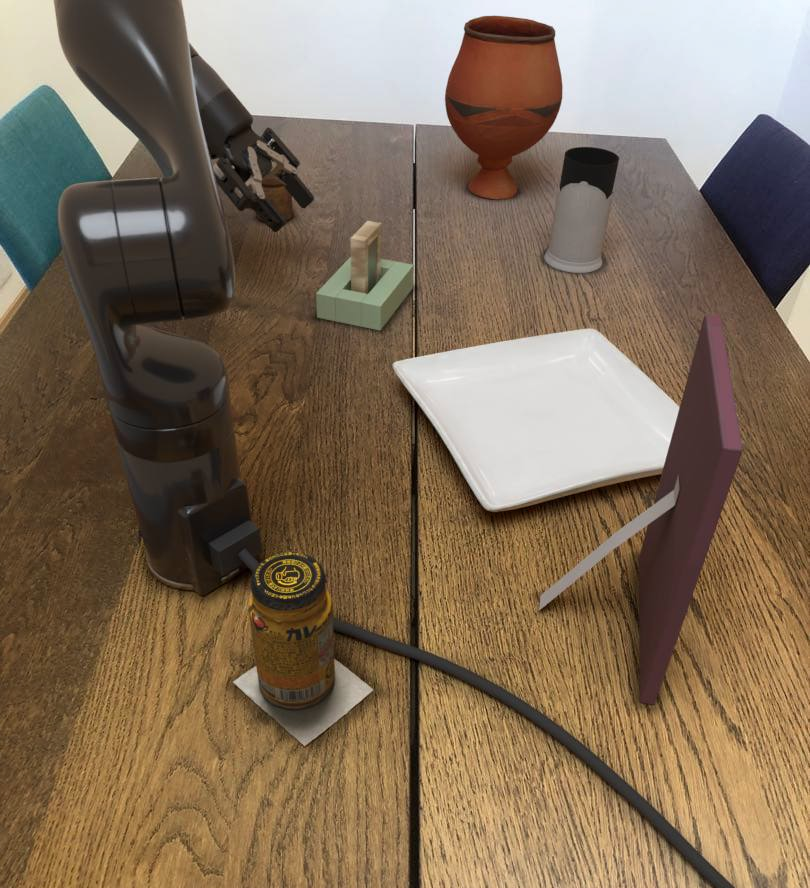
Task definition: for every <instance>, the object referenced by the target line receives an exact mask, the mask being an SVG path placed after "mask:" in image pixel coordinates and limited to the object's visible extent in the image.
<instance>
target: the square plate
mask: <svg viewBox="0 0 810 888" xmlns="http://www.w3.org/2000/svg"><path fill="white" fill-rule="evenodd" d="M391 367H392V369H393V371H394V373H395V375H396V376H397V378H398V379H399V380H400V382H401V384H402V385H403V386H404V388H405V389H406V390H407V391H408V393H409V394H410V396H411V397H412V398H413V399H414V401H415V402H416V403H417V405H418V406H419V408H420V409H421V410H422V412H423V413H424V415H425V416H426V417H427V418H428V420H429V421H430V423H431V425H432V426H433V428H434V429H435V430H436V433H437V434H438V435H439V437H440V438H441V440H442V442H443V443H444V445H445V447H446V448H447V449H448V451H449V453H450V455H451V457H452V458H453V460H454V462H455V463H456V465H457V467H458V469H459V471H460V472H461V475H462V476H463V478H464V479H465V481H466V483H467V484H468V486H469V488H470V490H472V493H473V494H474V496H475V497H476V499H477V500H478V502H479V503H480V506H482V508H484V509H485V510H486V511H487V512H492V513H499V512H505V511H511V510H517V509H521V508H525V507H530V506H534V505H538V504H541V503H544V502H548V501H549V502H550V501H552V500H556V499H559V498H563V497H566V496H567V497H568V496H570V495H574V494H579V493H583V492H586V491H590V490H594V489H598V488H601V487H606V486H610V485H614V484H619V483H623V482H629V481H632V480H638V479H641V478H647V477H653V476H657V475H662V471H663V467H664V464H665V460H666V456H667V452H668V449H669V445H670V441H671V438H672V434H673V430H674V426H675V423H676V419H677V415H678V412H679V408H680V405H679V404H677V403H676V402H675V401H674V400H673V399H672V398H671V397H670V396H669V395H668V394H667V393H666V392H664V391H663V389H661V387H659V386H658V384H656V383H655V382H654V381H653V380H652V379H651V378H650V377H649V376H647V374H645V372H644V371H642V369H640V368H639V366H637V365H636V364H635V363H634V362H633V361H632V360H631V359H630V358H628V357H627V356H626V355H625V354H624V353H623V352H622V351H621V350H619V348H618V347H616V346H615V345H614V344H613V343H612V342H611V341H610V340H609V339H608V338H606V337H605V336H604V335H603V334H602V333H601V332H600V331H599V330H597V329H595V328H590V327H589V328H581V329H575V330H568V331H566V330H565V331H561V332H559V331H558V332H553V333H547V334H540V335H533V336H526V337H521V338H516V339H515V338H514V339H508V340H503V341H502V340H501V341H497V342H491V343H485V344H480V345H475V346H469V347H462V348H458V349H451V350H447V351H442V352H436V353H431V354H425V355H422V356H421V355H420V356H416V357H410V358H406V359H401V360H397V361H394V362H393V363H392V365H391Z"/></svg>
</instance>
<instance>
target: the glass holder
mask: <svg viewBox="0 0 810 888" xmlns="http://www.w3.org/2000/svg"><path fill="white" fill-rule="evenodd" d="M619 162H620V157H619V155H617V153H615V152H613V151H610V150H608V149H604V148H601V147H593V146H578V147H577V146H576V147H571V148H569V149H567V150H565V152H564V156H563V161H562V169H561V176H560V182H559V184H558V188H557V193H556V199H555V206H554V212H553V218H552V224H551V231H550V236H549V242H548V243H549V244H548V248H547V251H545V254H544V255H543V259H544V262H545V263H546V264H547V265H548V266H550V267H552V268H553V269H556V270H559V271H561V272H562V271H563V272H566V273H573V274H574V273H575V274H585V273H592V272H595V271H597V270H599V269H600V268H602V266H603V258H602V252H603V247H604V243H605V237H606V231H607V227H608V222H609V217H610V212H611V208H612V204H613V203H612V202H613V198H614V187H615V181H616V176H617V171H618V167H619Z"/></svg>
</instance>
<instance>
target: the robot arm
mask: <svg viewBox="0 0 810 888" xmlns="http://www.w3.org/2000/svg"><path fill="white" fill-rule="evenodd" d="M53 6H54V13H55V14H54V15H55V20H56V21H55V22H56V27H57V34H58V35H57V36H58V40H59V44H60V48H61V50H62V52H63V55H64V57H65V60H66V61H67V63H68V64H69V66H70V68H71V69H72V71H73V72H74V74H75V76H76V77H77V78H78V79H79V81H80V82H81V83H82V84H83V86H84V87H85V88H86V89H87V90H88V91H89V92H90V93H91V95H93V97H95V98H96V100H97V101H98V102H99V103H100V104H101V105H102V106H103V107H104V108H105V109H106V110H107V111H109V113H110V114H112V115H113V117H115V118H116V119H117V120H118V121H119V122H121V124H122V125H123V126H124V127H126V128H127V129H128V130H129V131H131V133H132V134H133V135H134V136H135V137H136V138H137V139H138V140H139V141H140V143H142V145H143V146H144V147H145V149H147V151H148V152H149V153H150V155H151V156H152V159H154V161H155V163H156V164H157V166H158V167H159V169H160V170H161V172H162V174H163V176H162V177H145V178H144V177H143V178H129V179H113V180H99V181H97V180H96V181H87V182H78V183H74V184H71V185H68V186H67V187H66V188H65V189H64V190H63V192H62V194H61V196H60V198H59V201H58V206H57V207H58V208H57V226H58V234H59V240H60V244H61V250H62V254H63V258H64V261H65V265H66V268H67V272H68V275H69V279H70V282H71V285H72V288H73V290H74V294H75V297H76V300H77V303H78V306H79V309H80V312H81V315H82V317H83V321H84V324H85V327H86V330H87V334H88V336H89V340H90V342H91V347H92V349H93V354H94V357H95V362H96V364H97V365H96V366H97V368H98V373H99V376H100V379H101V383H102V388H103V393H104V397H105V401H106V404H107V408H108V412H109V416H110V420H111V423H112V427H113V431H114V435H115V439H116V444H117V448H118V451H119V455H120V459H121V463H122V468H123V470H124V474H125V478H126V482H127V486H128V490H129V494H130V497H131V498H130V499H131V500H132V505H133V510H134V513H135V517H136V520H137V521H136V522H137V524H138V537H137V542H138V546H139V549H140V550H141V548H142V543H143V547H144V550H145V558H146V563H147V567H148V569H149V572H150V573H151V574H152V576H153V577H154V578H155V579H156V580H158V581H159V582H160V583H161V584H164V585H165V586H168V587H171V588H174V589H177V590H183V591H193V592H196V594H198V595H199V596H201V597H203V596H206V595H207V594H209V593H211V592H212V591H214V590H215V589H217V588H219V587H220V586H222V585H224V584H226V583H227V582H229V581H231V580H233V579H234V578H235V577H237V576H238V575H241V573H243V572H245V571H246V570H248V569H249V570H250V572H252V573H253V572H254V570H255V568H256V567H257V566H258V564H259V563H260V562H259V561H258V559H257V556H258V555H259V554H261V553H262V552H263V547H262V540H261V532H260V531H261V530H260V528H259V526H257V525H256V524H254V522H253V520H252V512H251V505H250V498H249V497H250V496H249V489H248V485H247V483H246V482H245V481H244V480H243V479H242V475H241V473H242V472H241V468H240V459H239V453H238V452H239V451H238V446H237V436H236V429H235V424H234V423H235V422H234V421H235V420H234V415H233V414H234V413H233V406H232V400H231V399H232V398H231V392H230V384H229V377H228V371H227V366H226V363H225V361H224V359H223V357H222V355H221V353H219V351H218V350H217V349H216V348H214V347H213V346H211V345H210V344H209V343H208V342H207V343H206V342H205V341H203V340H200V339H198V338H195V337H193V336H189V335H185V334H180V333H177V332H173V331H168V330H166V329H163V328H159V327H156V326H155V325H152V324H157V323H166V322H167V323H168V322H177V321H183V320H185V321H186V320H196V319H202V318H208V317H213V316H217V315H220V314H222V313H224V312H225V311H227V310H228V309H229V308H230V306H231V305H232V303H233V299H234V296H235V290H236V266H235V265H236V264H235V257H234V249H233V244H232V239H231V234H230V231H229V226H228V223H227V222H228V220H227V217H226V213H225V208H224V205H223V200H222V197H221V193H220V189H221V190H222V191H223V193H224V194H225V195H226V196H227V198H228V199H229V200H230V201H231V203H232V204H233V205H234V207H235V208H236V209H237V210H238V211H240V212H244V211H245V210H247V209H249V211H253V212H255V214H256V213H257V214H258V215H259V216H260V218H261V219H262V220H263V221H264V222H263V221H262V222H263V223H265V225H266V226H267V228H269V229H271V231H272V232H273V233H278V232H279V231H280V230H281V229H282V228H283V227H284V226H285V225H286V224H287V221H286V219H285V218H284V217H283V215H282V214H281V213H280V212H279V211H278V209H277V208H276V207H275V206H274V205H273V204H272V202H271V201H270V200H269V199H268V198H266V199H265V194H264V191H263V188H262V185H261V183H262V179H263V178H264V177H265V178H266V179H269V180H270V179H275V180H276V181H278V182H280V183H282V184H283V185H286V184H287V185H286V186H285V188H286V190H287V191H288V192H289V193H290V194H291V196H292V199H294V200H295V202H296V203H297V204H298V206H299V207H300V208H301V209H307V207H308V206H309V205H310V204H312V203H313V202H314V200H315V196H314V194H313V193H312V192H311V190H310V189H309V188H308V187H307V186H306V184H305V183H304V182H303V181H302V179H301V178H300V177H299V175H298V170H297V169H298V167H299V166H300V165H301V162H300V160H299V159H298V158H297V156H295V154H294V153H293V152H292V151H291V150H290V149H289V147H288V146H287V145H286V144H285V143H284V142H283V140H282V139H280V137H279V136H278V135H277V134H276V132H274V130H273V129H272V128H271V127H266V128H265V129H264V130H263V131H262V133H261V134H260V135H258V134H257V133H256V132H255V131H254V130H253V129H252V125H253V123H254V118H253V117H254V116H253V115H252V114H251V113H250V112H249V110H248V109H247V108H246V106H245V105H244V104H243V103H242V101H240V99H239V98H238V97H237V95H236V94H235V92H233V91H232V90H231V87H229V85H227V83H226V82H225V80H224V79H223V78H222V77H221V76H220V75H219V74H218V72H217V71H216V70H215V68H213V66H211V65H210V64H209V63H208V62H206V60H205V59H204V58H203V57H202V56H201V55H200V54H199V52H198V51H197V50H196V49H195V48H194V46H193V44H191V43H190V41H189V36H188V30H187V29H188V28H187V22H186V21H187V20H186V16H185V11H184V6H183V0H53ZM217 159H218V160H217ZM285 159H286V160H285ZM214 160H217V161H216V162H215V163H214V164H213V161H214ZM279 170H280V171H281V172H282V174H281V173H280V172H278V171H279ZM219 188H220V189H219ZM236 189H237V190H238V193H239V194H240V195H242V196H241V197H240V196H239V194H237V192H236ZM333 632H336V633H340V634H342V635H343V634H344V635H346V636H349V637H352V638H355V639H358V640H360V641H362V642H364V643H367V644H370V645H372V646H376V647H378V648H381V649H384V650H386V651H390V652H393V653H396V654H398V655H402V656H404V657H407V658H409V659H413V660H414V661H417V662H421V663H424V664H426V665H428V666H431V667H433V668H436V669H438V670H440V671H441V672H444V673H446V674H448V675H451V676H453V677H455V678H457V679H459V680H461V681H463V682H465V683H467V684H469V685H471V686H473V687H475V688H477V689H478V690H481V691H482V692H484V693H486V694H488V695H489V696H491V697H493V698H495V699H497V700H498V701H500V702H502V703H503V704H504V705H507V707H510V708H511V709H512V710H514V711H516V712H517V713H518V714H521V715H522V716H523V717H524V718H526V719H528V720H529V721H530V722H532V723H534V724H535V725H537V726H538V727H539V728H541V729H542V730H543V731H545V732H546V733H548V734H549V735H550V736H552V737H553V738H554V739H555V740H557V741H558V742H559V743H561V744H562V745H563V746H565V748H567V749H568V750H569V751H570V752H572V753H573V754H574V755H575V756H577V757H578V758H579V759H580V760H581V761H582V762H584V763H585V764H586V765H587V766H588V767H590V769H592V770H593V771H594V772H595V773H596V774H597V775H598V776H599V777H600V778H602V779H603V780H604V781H605V782H606V783H607V784H608V785H609V786H610V787H612V788H613V789H614V790H615V791H616V792H617V793H618V794H619V795H620V796H621V797H623V799H625V800H626V801H627V802H628V803H629V804H630V805H631V806H632V807H633V808H635V810H637V812H639V814H640V815H642V816H643V817H644V818H645V819H646V821H648V822H649V823H650V824H651V825H652V826H653V827H654V828H655V829H656V830H657V831H658V833H660V834H661V836H663V838H664V839H666V840H667V842H669V844H671V845H672V846H673V848H674V849H675V850H676V851H677V852H678V853H679V854H680V855H682V857H683V858H684V859H685V860H686V862H688V863H689V864H690V865H691V866H692V868H694V869H695V871H697V872H698V873H699V874H700V875H701V876H702V877H703V878H704V879H705V880H706V881H707V882H708V883H709V884H710V885H711V886H712V887H713V888H736V887H735V886H734V885H733V884H732V883H730V881H729V880H728V879H726V878H725V876H724V875H722V873H720V872H719V871H718V870H717V869H716V868H715V867H714V866H713V865H712V864H711V863H710V862H709V861H708V859H706V858H705V857H704V856H703V855H702V854H701V853H700V852H699V851H698V850H697V849H696V848H695V847H694V846H693V845H692V844H691V842H689V841H688V840H687V839H686V838H685V837H684V836H683V835H682V834H681V833H680V832H679V830H677V829H676V828H675V827H674V826H673V825H672V824H671V823H670V822H669V821H668V820H667V819H666V818H665V817H664V816H663V815H662V813H660V812H659V810H657V809H656V808H655V807H654V806H653V805H652V804H651V803H650V802H649V801H648V800H647V799H646V798H645V797H644V796H642V795H641V794H640V792H638V791H637V790H636V789H635V788H634V787H633V786H632V785H630V783H628V782H627V781H626V780H625V779H624V778H622V776H620V775H619V774H618V773H617V772H616V771H615V770H614V769H613V768H611V767H610V766H609V765H608V764H607V763H606V762H604V761H603V759H601V758H600V757H599V756H597V755H596V754H595V753H594V752H593V751H592V750H590V748H589V747H587V746H586V745H585V744H584V743H582V742H581V741H580V740H578V739H577V738H576V737H575V736H574V735H572V734H571V733H570V732H568V731H567V730H566V729H564V727H562V726H561V725H559V724H558V723H557V722H555V721H554V720H552V719H551V718H549V717H548V716H546V715H545V714H544V713H542V712H541V711H540V710H538V709H536V708H535V707H534V706H532V705H531V704H529V703H527V702H525V701H524V700H523V699H522V698H519V696H516V695H515V694H514V693H512V692H510V691H508V690H507V689H506V688H503V687H502V686H500V685H499V684H497V683H495V682H493V681H491V680H489V679H487V678H485V677H484V676H482V675H479V674H478V673H476V672H473V671H472V670H470V669H467V668H465V667H463V666H462V665H459V664H457V663H455V662H453V661H451V660H449V659H447V658H444V657H441V656H439V655H437V654H435V653H432V652H430V651H427V650H424V649H422V648H419V647H416V646H413V645H410V644H407V643H404V642H403V641H399V640H396V639H393V638H390V637H387V636H385V635H382V634H378V633H376V632H373V631H370V630H369V629H365V628H363V627H360V626H357V625H355V624H352V623H349V622H345V621H343V620H339V619H336V618H333Z"/></svg>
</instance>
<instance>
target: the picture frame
mask: <svg viewBox="0 0 810 888" xmlns="http://www.w3.org/2000/svg"><path fill="white" fill-rule="evenodd" d="M724 333H725V332H724V328H723V322H722V316H721V315H717V314H716V315H715V314H704V316H703V319H702V324H701V327H700V331H699V334H698V338H697V341H696V345H695V348H694V353H693V355H692V360H691V364H690V367H689V371H688V375H687V377H686V378H687V379H686V383H685V386H684V390H683V393H682V398H681V401H680V405H679V407H680V408H679V412H678V415H677V419H676V423H675V426H674V430H673V434H672V438H671V441H670V445H669V449H668V452H667V456H666V460H665V464H664V467H663V471H662V474H660V478H659V483H658V485H657V489H656V494H655V497H654V501H653V504H652V505H651V506H650V507H648V508H647V509H646V510H644V511H643V512H641V513H640V514H639V515H638V516H636V517H635V518H633V519H632V520H631V521H629V522H628V523H626V524H625V525H624V526H622V527H621V528H620V529H619V530H617V531H616V532H615V533H614V534H612V535H610V537H608V538H607V539H606V540H605V541H604V542H602V543H601V544H600V545H599V546H597V547H596V548H595V549H594V550H593V551H592V552H591V553H589V554H588V555H587V556H585V558H584V559H582V560H581V561H580V562H579V563H578V564H576V565H575V566H574V567H573V568H572V569H570V570H569V571H568V572H567V573H566V574H564V575H563V576H562V577H560V579H559V580H557V581H556V582H555V583H554V584H552V585H551V586H550V587H549V588H548V589H547V590H545V591H544V592H542V594H540V600H539V607H538V610H539V611H541V610H542V609H543V608H544V607H546V606H547V605H548V604H549V603H550V602H552V601H553V600H554V599H555V598H556V597H558V596H559V595H560V594H561V593H563V592H564V591H565V590H566V589H568V588H569V587H570V586H571V585H572V584H573V583H575V582H576V581H577V580H579V579H580V578H581V577H582V576H583V575H584V574H586V573H587V572H588V571H590V570H591V569H592V568H593V567H594V566H595V565H596V564H598V563H599V562H600V561H602V560H603V559H604V558H605V557H606V556H608V555H609V554H610V553H612V552H613V551H614V550H616V549H617V548H618V547H619V546H621V545H622V544H623V543H625V542H626V541H627V540H629V539H630V538H631V537H633V536H635V535H636V534H637V533H639V532H640V531H641V530H642V529H644V528H646V531H645V533H644V538H643V541H642V546H641V548H640V552H639V557H638V635H639V637H638V639H639V641H638V642H639V645H638V647H639V650H638V651H639V653H638V654H639V703H641V704H647V705H653V706H654V705H655V704H656V703H657V699H658V696H659V693H660V690H661V688H662V685H663V682H664V679H665V677H666V673H667V670H668V667H669V665H670V661H671V658H672V656H673V653H674V650H675V647H676V644H677V641H678V639H679V636H680V633H681V630H682V628H683V624H684V621H685V618H686V616H687V612H688V610H689V607H690V604H691V601H692V599H693V595H694V592H695V590H696V587H697V584H698V581H699V578H700V575H701V572H702V569H703V567H704V564H705V560H706V558H707V555H708V552H709V549H710V547H711V544H712V541H713V538H714V535H715V532H716V529H717V526H718V525H719V522H720V517H721V514H722V512H723V510H724V506H725V504H726V500H727V497H728V495H729V491H730V489H731V486H732V483H733V480H734V477H735V474H736V471H737V469H738V466H739V464H740V460H741V457H742V454H743V450H744V449H743V443H742V437H741V430H740V425H739V419H738V413H737V407H736V401H735V400H736V399H735V394H734V389H733V382H732V377H731V376H732V375H731V371H730V370H731V369H730V364H729V357H728V353H727V346H726V340H725V334H724Z"/></svg>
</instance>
